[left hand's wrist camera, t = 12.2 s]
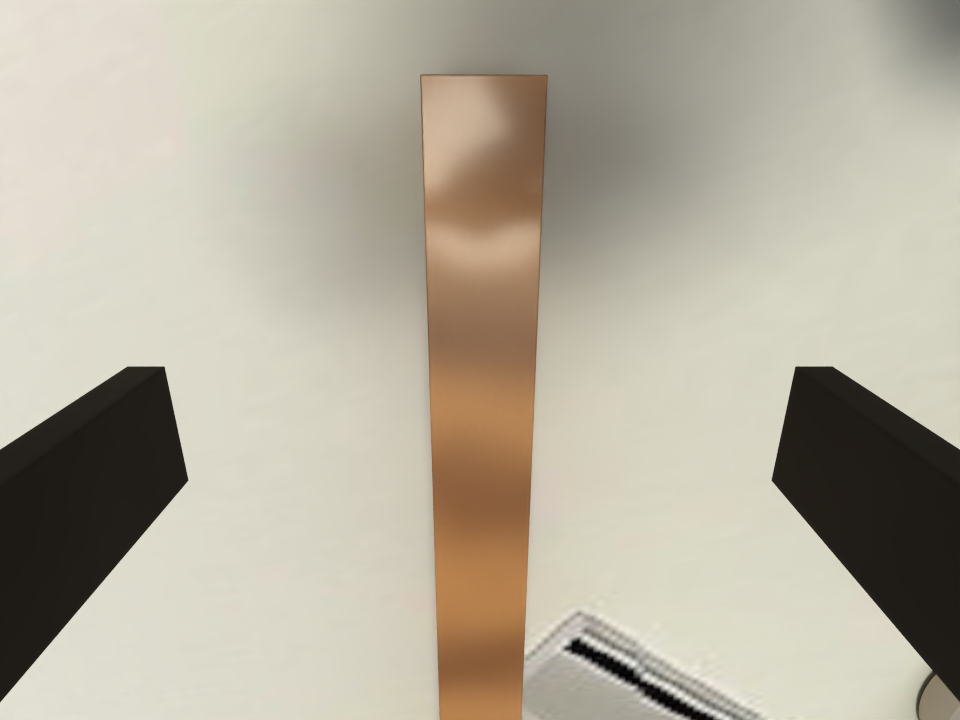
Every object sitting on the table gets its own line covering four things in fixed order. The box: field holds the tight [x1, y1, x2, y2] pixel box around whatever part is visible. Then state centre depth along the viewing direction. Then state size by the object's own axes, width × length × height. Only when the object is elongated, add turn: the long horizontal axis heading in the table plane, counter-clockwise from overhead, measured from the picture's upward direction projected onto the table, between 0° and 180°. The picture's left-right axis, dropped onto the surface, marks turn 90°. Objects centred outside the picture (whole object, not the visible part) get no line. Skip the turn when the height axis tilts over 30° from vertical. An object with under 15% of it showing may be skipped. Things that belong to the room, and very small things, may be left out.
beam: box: [420, 74, 547, 720], centre depth 37 cm, size 61×5×8 cm, turn 0°
